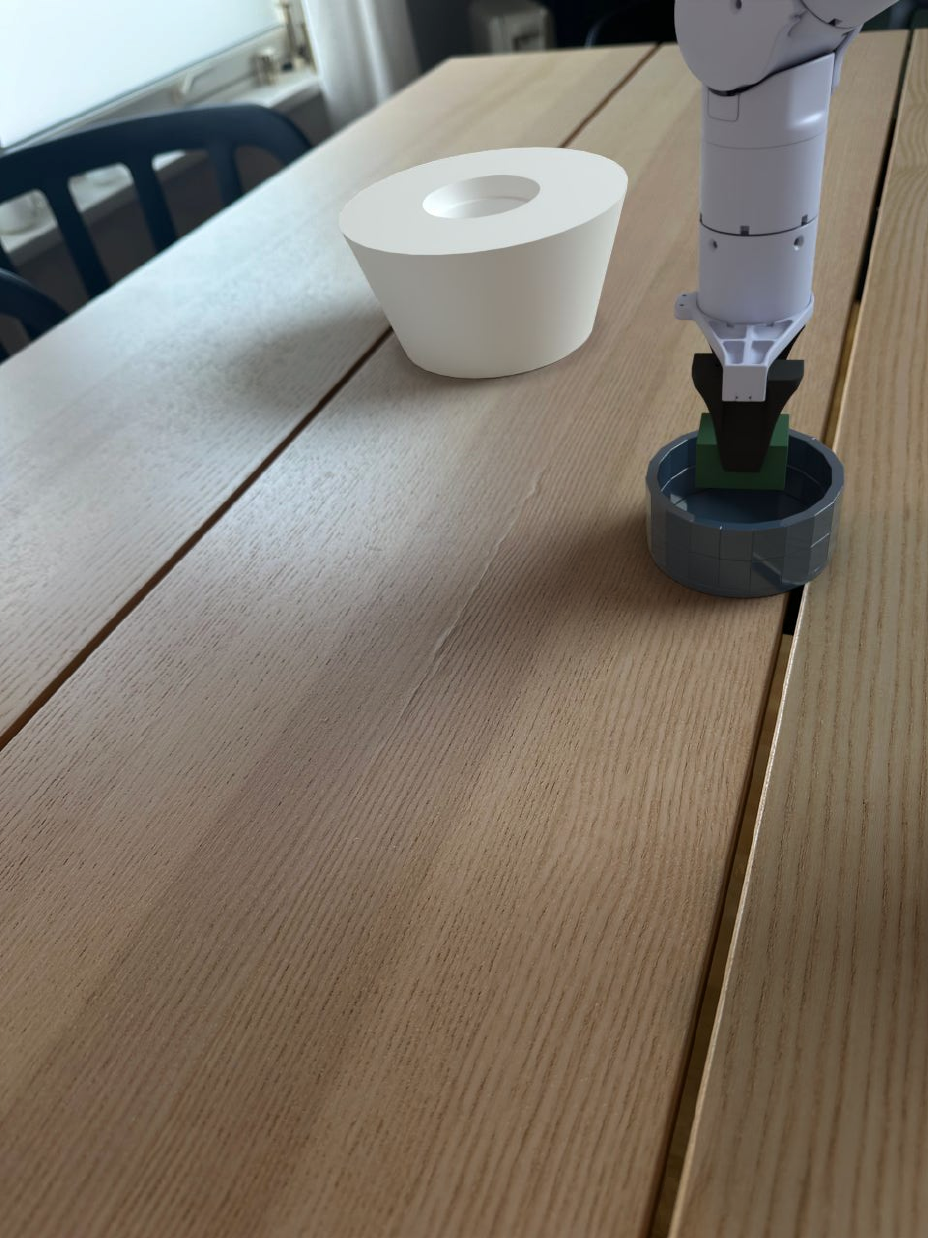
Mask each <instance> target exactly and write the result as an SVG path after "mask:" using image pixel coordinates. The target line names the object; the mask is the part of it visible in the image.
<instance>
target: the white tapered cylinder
mask: <svg viewBox="0 0 928 1238" xmlns="http://www.w3.org/2000/svg"><path fill="white" fill-rule="evenodd" d="M628 185H629V176H628V174H627V172H626V171H625V169H624V168H623V167H622V166H621V165H620V164H618V163H617V162H616V161H614V160H612V159H609V158H608V157H605V156H603V155H601V154H597V153H593V152H589V151H585V150H579V149H571V148H564V147H543V146H535V147H532V146H531V147H530V146H529V147H509V148H500V149H498V148H497V149H489V150H488V149H487V150H481V151H476V152H475V151H474V152H469V153H463V154H459V155H454V156H449V157H445V158H439V159H436V160H433V161H428V162H426V163H422V164H419V165H415V166H411V167H410V168H407V169H405V170H402V171H399V172H395V173H393V174H391V175H388V176H387V177H385V178H382V179H380V180H378V181H375V182H374V183H371V184H370V185H369V186H366V187H365V188H364V189H362V190H361V191H359V192H357V194H355V195H354V196H353V197H352V198H350V199H349V201H347V202H346V203H345V205H344V206H343V208H342V209H341V211H340V212H339V216H338V220H337V223H338V226H339V228H340V231H341V233H342V235H343V237H344V239H345V241H346V243H347V245H348V246H349V249H350V250H351V253H352V254H353V256H354V259H355V260H356V262H357V264H358V265H359V268H360V270H361V271H362V273H363V275H364V276H365V278H366V281H367V283H368V284H369V286H370V289H371V290H372V292H373V294H374V295H375V298H376V299H377V302H378V303H379V305H380V306H381V309H382V311H383V312H384V314H385V316H386V318H387V320H388V322H389V324H390V326H391V328H392V330H393V332H394V333H395V335H396V338H397V339H398V341H399V343H400V344H401V346H402V349H403V350H404V352H405V354H406V356H407V358H408V359H409V360H410V361H411V362H412V363H413V364H414V365H416V366H418V367H419V368H421V369H422V370H424V371H427V372H430V373H433V374H436V375H440V376H445V377H449V378H456V379H457V378H458V379H492V378H500V377H501V378H502V377H507V376H508V377H509V376H515V375H519V374H523V373H528V372H531V371H535V370H538V369H540V368H544V367H546V366H549V365H551V364H553V363H556V362H558V361H560V360H562V359H564V358H566V357H568V356H569V355H570V354H572V353H574V352H575V351H576V350H578V349H579V348H580V347H581V346H582V345H583V344H584V343H585V342H586V341H587V340H588V339H589V337H590V335H591V333H592V332H593V328H594V325H595V319H596V316H597V311H598V307H599V303H600V300H601V295H602V291H603V287H604V283H605V279H606V276H607V271H608V267H609V263H610V259H611V254H612V251H613V246H614V243H615V239H616V236H617V235H616V234H617V230H618V227H619V222H620V218H621V214H622V210H623V206H624V202H625V197H626V194H627V189H628Z"/></svg>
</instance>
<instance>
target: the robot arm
mask: <svg viewBox="0 0 928 1238" xmlns="http://www.w3.org/2000/svg"><path fill="white" fill-rule="evenodd" d="M899 1H900V0H674V9H673V10H674V14H673V15H674V29H675V36H676V41H677V44H678V48H679V51H680V53H681V56H682V58H683V60H684V63H685V65H686V66H687V68H688V69H689V71H690V72H691V73H692V75H693V76H694V77H695V78H696V79H697V80H698V81H699V82H700V83H701V94H700V95H701V96H700V97H701V98H700V140H699V141H700V142H699V143H700V145H699V146H700V148H699V149H700V151H699V190H698V191H699V195H698V243H697V244H698V245H697V248H698V249H697V288H696V289H697V290H696V291H686V292H681V293H679V294H678V295H676V297H675V300H674V301H675V302H674V305H673V315H674V319H676V320H679V321H693V322H694V323H696V325H697V327H698V328H699V330H700V332H701V333H702V334H703V335H702V336H704V338H705V339H706V341H707V343H708V346H709V348H710V351H711V352H695V353H694V354H693V358H692V364H691V380H692V383H693V386H694V388H695V390H696V391H697V393H698V394H699V395H700V397H701V399H702V400H703V402H704V404H705V406H706V408H707V411H708V413H710V416H711V419H712V423H713V427H714V432H715V437H716V443H717V448H718V453H719V458H720V461H721V465H722V468H723V470H724V471H725V472H756V473H758V472H760V470H761V468H762V466H763V464H764V461H765V459H766V456H767V453H768V450H769V446H770V443H771V439H772V436H773V432H774V429H775V426H776V423H777V421H778V418H779V416H780V414H782V412H783V410H784V408H785V406H786V405H787V403H788V402H789V400H790V399H791V397H792V396H793V395H794V394H795V393H796V391H797V390H798V389H799V387H800V385H801V383H802V381H803V378H804V375H805V359H788V357H789V355H790V353H791V351H792V349H793V348H794V345H795V343H796V342H797V340H798V338H799V337H800V335H801V333H802V332H803V331H804V329H805V328H806V324H807V323H808V322H809V321H810V320H811V318H812V316H813V314H814V306H815V296H814V295H815V294H814V293H813V291H812V286H813V275H814V265H815V254H816V244H817V234H818V225H819V217H820V216H819V215H820V204H821V193H822V192H821V191H822V185H823V184H822V183H823V176H824V175H823V172H824V164H825V152H826V144H827V135H828V133H827V132H828V124H829V114H830V104H831V97H832V96H833V95H834V90H835V89H838V88H839V87H840V79H841V70H842V63H843V61H844V56H845V54H846V53H847V50H848V49H849V47H850V45H851V44H852V43H853V42H854V41H855V39H856V38H857V36H858V35H859V33H860V32H861V30H862V28H863V26H864V24H865V23H866V22H868V21H870V20H871V19H873V18H874V17H876V16H877V15H879V14H880V13H882V12H883V11H885V10H886V9H888V8H889V7H891V6H893V5H895V4H897V2H899Z"/></svg>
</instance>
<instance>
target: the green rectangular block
mask: <svg viewBox="0 0 928 1238" xmlns="http://www.w3.org/2000/svg"><path fill="white" fill-rule="evenodd" d="M789 428H790V413H781V414H780V416H779V418H778V421H777V423H776V426H775V429H774V432H773V436H772V439H771V443H770V446H769V450H768V453H767V456H766V459H765V461H764V464H763V466H762V468H761V470H760V472H758V473H756V472H725V471H724V470H723V468H722V465H721V461H720V458H719V453H718V448H717V443H716V437H715V432H714V427H713V423H712V419H711V416H710V413H709V412H701V414H700V420H699V426H698V430H699V431H698V437H697V443H696V478H695V487H703V488H731V489H760V490H784V483H785V473H786V462H787V451H788V435H789Z"/></svg>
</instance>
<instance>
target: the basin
mask: <svg viewBox="0 0 928 1238" xmlns="http://www.w3.org/2000/svg"><path fill="white" fill-rule="evenodd" d="M698 431H699V429H696V430H693V431H690V432H687V433H685V434H681V435H679V436H678V437H676V438H675V439H673V440H671V441H670V442H668V443H667V444H665V445H663V446H661V447H660V449H658V451H657V452H656V453H655V454H654V456H653V457H652V458H651V459H650V460H649V462H648V465H647V468H646V474H645V477H644V478H645V479H644V481H645V483H644V484H645V487H644V488H645V489H644V491H645V531H646V533H645V534H646V535H645V536H646V540H647V541H646V542H647V548H648V552H649V554H650V557H651V559H652V560H653V562H654V563H655V564H656V566H657V567H658V568H659V569H660V570H661V571H662V572H663V573H664V574H665V575H666V576H668V577H669V578H670V579H672V580H673V581H675V582H677V583H679V584H680V585H683V586H684V587H687V588H689V589H692V590H695V591H698V592H701V593H705V594H707V595H712V596H713V595H714V596H719V597H727V598H740V599H741V598H743V599H745V598H746V599H747V598H762V597H769V596H773V595H778V594H783V593H786V592H789V591H792V590H795V589H797V588H799V587H801V586H804V585H806V584H807V583H809V582H810V581H812V580H814V579H815V578H816V577H817V576H819V575H820V574H821V573H822V572H823V571H824V570H825V569H826V568H827V566H828V565H829V563H830V562H831V561H832V558H833V556H834V553H835V548H836V546H837V542H838V534H839V526H840V521H841V520H840V519H841V514H842V513H841V512H842V506H843V500H844V499H843V497H844V492H845V467H844V465H843V464H842V462H841V460H840V459H839V457H838V456H837V454H836V452H835V451H833V450H832V449H831V448H830V447H828V446H827V445H826V444H824V443H823V442H821V441H819V439H817V438H815V437H813V436H812V435H808V434H806V433H803V432H800V431H798V430H796V429H793V428H790V427H789V435H788V451H787V462H786V473H785V483H784V490H760V489H731V488H703V487H695V478H696V443H697V437H698Z"/></svg>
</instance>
